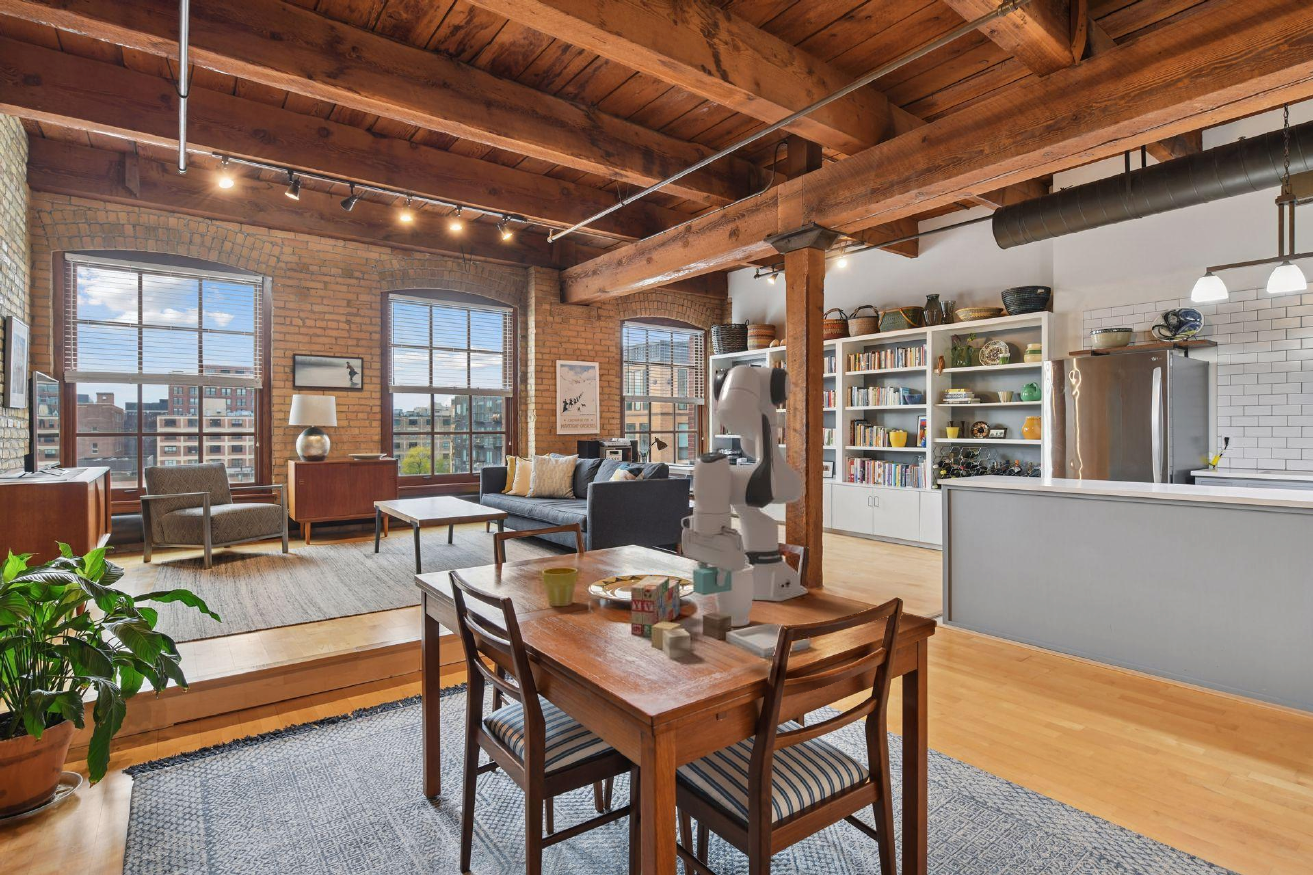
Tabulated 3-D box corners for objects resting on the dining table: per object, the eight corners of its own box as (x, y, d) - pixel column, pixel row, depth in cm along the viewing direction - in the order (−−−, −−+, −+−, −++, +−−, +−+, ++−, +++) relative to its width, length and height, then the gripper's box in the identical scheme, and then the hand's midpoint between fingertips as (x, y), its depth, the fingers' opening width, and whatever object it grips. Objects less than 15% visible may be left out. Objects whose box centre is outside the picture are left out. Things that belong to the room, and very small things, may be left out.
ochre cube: (663, 641, 164) (663, 620, 164) (680, 644, 161) (680, 624, 161) (651, 647, 160) (651, 626, 159) (669, 651, 157) (669, 629, 157)
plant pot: (546, 598, 202) (546, 566, 202) (580, 599, 202) (580, 566, 202) (538, 608, 192) (538, 574, 192) (575, 608, 191) (574, 574, 191)
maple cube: (683, 649, 158) (683, 628, 158) (690, 656, 153) (690, 635, 153) (662, 651, 156) (662, 630, 156) (669, 659, 152) (669, 637, 151)
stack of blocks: (658, 611, 189) (658, 568, 189) (680, 613, 187) (680, 569, 186) (630, 634, 169) (630, 586, 168) (654, 637, 167) (654, 588, 166)
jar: (724, 614, 186) (724, 560, 185) (759, 620, 180) (760, 564, 180) (707, 624, 177) (707, 567, 176) (744, 630, 171) (744, 572, 171)
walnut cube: (716, 630, 172) (716, 611, 172) (731, 635, 168) (731, 615, 168) (702, 635, 168) (702, 615, 168) (717, 639, 165) (717, 619, 164)
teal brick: (721, 586, 160) (721, 565, 160) (731, 590, 157) (731, 568, 156) (693, 591, 156) (693, 569, 156) (703, 595, 152) (703, 573, 152)
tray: (770, 631, 171) (770, 622, 171) (809, 647, 159) (809, 638, 159) (726, 641, 163) (726, 632, 163) (763, 658, 151) (763, 648, 151)
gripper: (751, 528, 148) (751, 590, 149) (698, 516, 166) (698, 571, 166) (728, 531, 145) (729, 595, 146) (677, 518, 162) (677, 575, 163)
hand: (712, 582), depth 156 cm, fingers closed on teal brick, 4 cm apart
